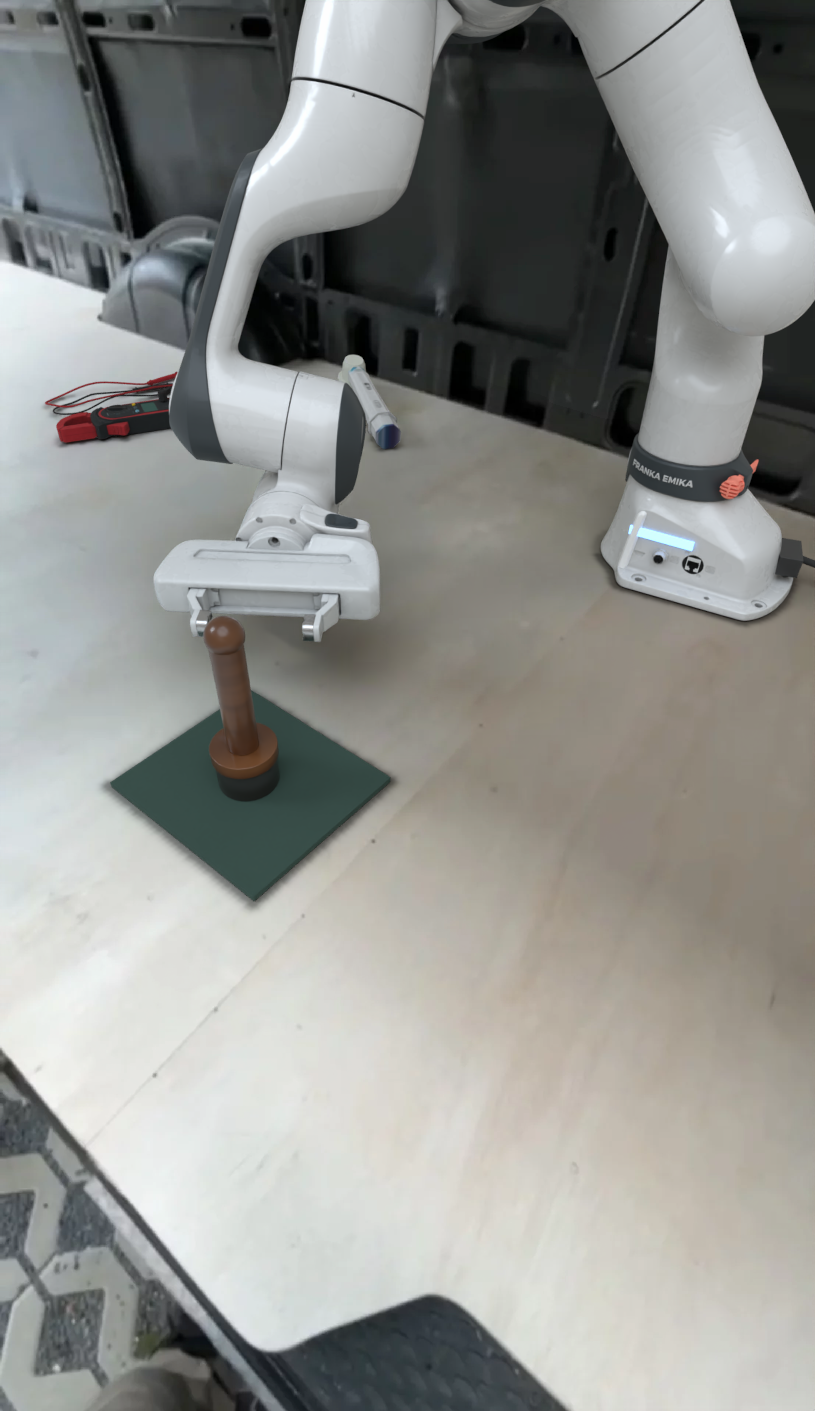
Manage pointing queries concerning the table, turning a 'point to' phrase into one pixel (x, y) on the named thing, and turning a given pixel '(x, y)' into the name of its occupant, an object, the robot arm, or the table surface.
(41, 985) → the table surface
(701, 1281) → the table surface
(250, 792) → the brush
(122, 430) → the digital clamp meter
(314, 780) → the mat
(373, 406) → the toothbrush head
